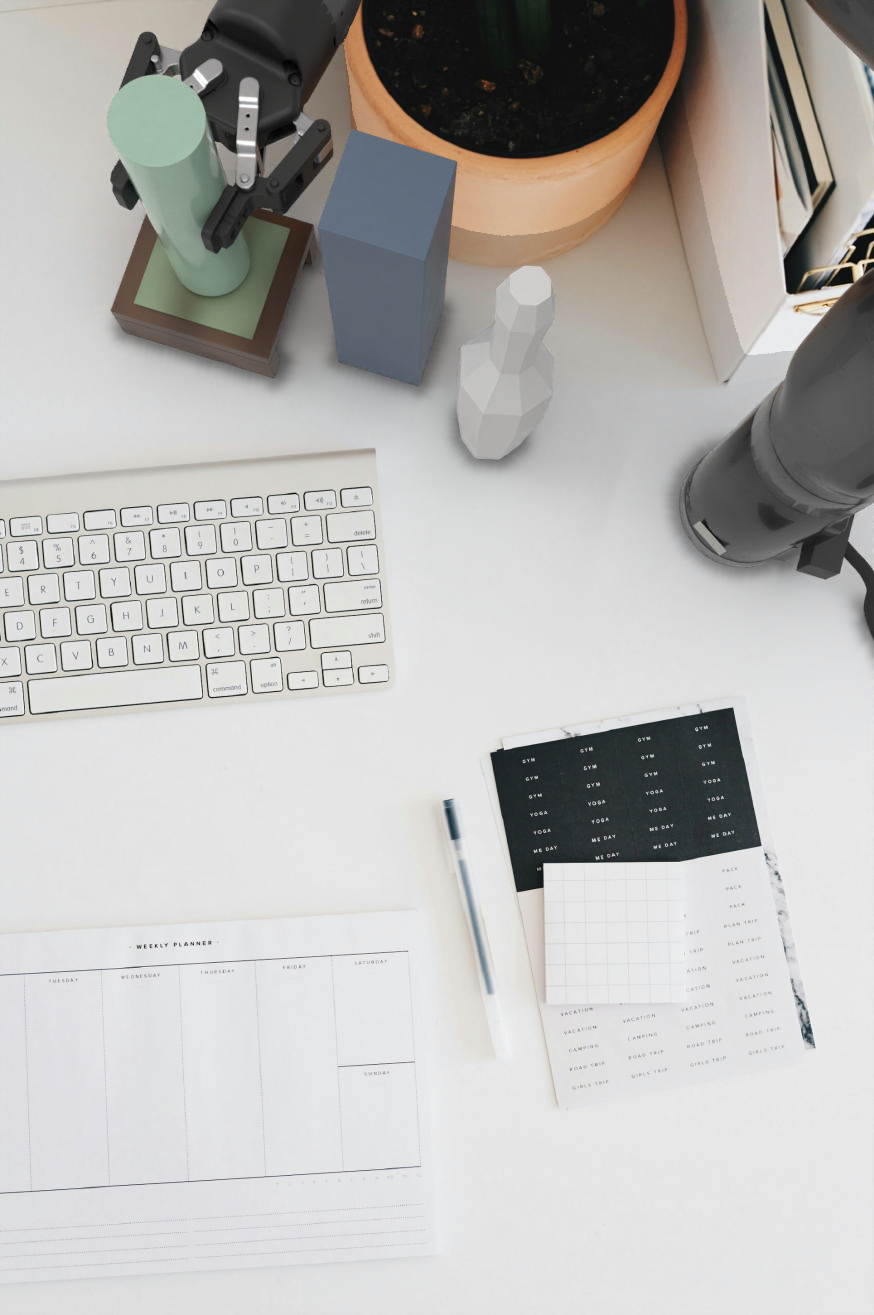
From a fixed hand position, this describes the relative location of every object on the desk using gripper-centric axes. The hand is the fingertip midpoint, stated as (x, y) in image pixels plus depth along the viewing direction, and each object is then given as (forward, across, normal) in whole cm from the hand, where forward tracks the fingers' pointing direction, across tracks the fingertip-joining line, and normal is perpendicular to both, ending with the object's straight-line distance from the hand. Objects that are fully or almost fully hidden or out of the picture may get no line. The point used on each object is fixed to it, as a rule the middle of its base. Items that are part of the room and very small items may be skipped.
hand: (165, 222), depth 58 cm
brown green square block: (-2, 0, +12) cm, 13 cm away
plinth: (-5, +13, +12) cm, 19 cm away
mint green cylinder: (-2, 0, +8) cm, 9 cm away
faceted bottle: (-2, +24, +13) cm, 27 cm away
